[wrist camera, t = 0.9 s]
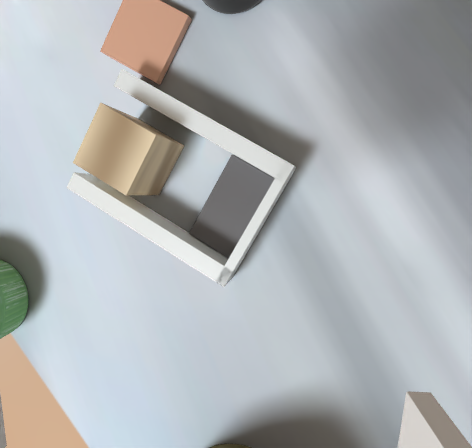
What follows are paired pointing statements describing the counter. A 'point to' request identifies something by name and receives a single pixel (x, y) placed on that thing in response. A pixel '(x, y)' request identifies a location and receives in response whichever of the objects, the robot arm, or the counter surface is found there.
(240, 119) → the counter surface
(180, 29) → the tile
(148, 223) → the channel
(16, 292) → the ramekin
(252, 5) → the supplement bottle
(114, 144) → the block
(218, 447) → the piston
